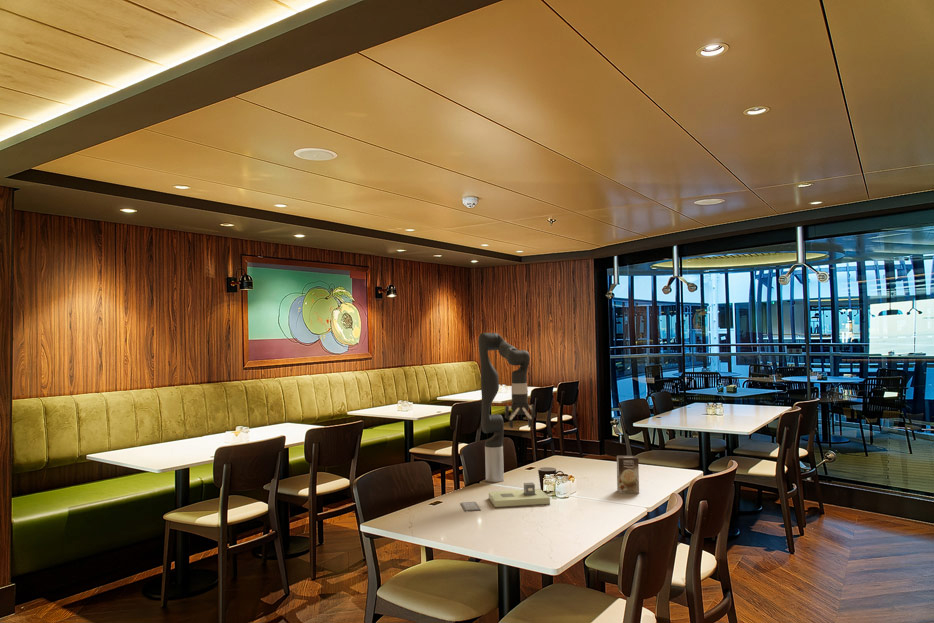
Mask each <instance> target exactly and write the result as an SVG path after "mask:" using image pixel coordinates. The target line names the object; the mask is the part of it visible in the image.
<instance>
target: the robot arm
mask: <svg viewBox="0 0 934 623" xmlns="http://www.w3.org/2000/svg"><path fill="white" fill-rule="evenodd" d="M477 340H478V353H479V362H480V390H481V392H480V393H481V416H480V418H481V421H480V425H481V426H480V427H481V430H482V432H483V433H484V434H493V435H492V436H491V437H490V438H487V439H486V440H485V442H484V455H485V456H484V458H485V459H484V460H485V461H484V462H485V463H484V464H485V466H484V467H485V481H486V482H490V483H500V482H503V481H504V480H505V476H504V472H505V471H504V467H505V466H504V430H505V429H504V425H505V423H504V418H505V419H507V420H508V426H509V428H511V429H513V428H514V424H513V421H514V420H513V419H514V418H515V417H516V415H517V416H519V415H521V416H522V415H526V417H527V418H528V419H527V424H528V425H527V427H528V428H531V427H532V426H533V421H532V420H533V419H534V418H535V419H536V416H537V415H536V405H534V404H531V405H530V404H529V397H528V392H529V391H528V378H527V373H528V369H529V365H530V363H531V362H530V361H531V356H530V355H531V354H530V353H529V352H528V350H526V349H525V350H524V349H523V350H521V349H520V350H519V349H517V348H516V347H515V346H513V345H512V344H510V343H508V342H507V341H506V340H505V339H504V338H503V337H502V336H501V335H500V334H499V333H497V332H482V333H480V334H479V335H478V339H477ZM489 351H492V352H493V351H498V353H499V355H500V356H501V357H502V358H504V359H506V361H507V363H508V364H509V365H510V366H519V368H518V369H516V370H513V371H512V372H511V405H505V406H504V418H503V416H502V414H499V413H497V414H490V411H491V407H492V403H493V401H494V400H495V398H496V396H497V394H498V392H499V389H500V382H499V381H500V380H499V374H498V372H497V370H496V368H494V366H493V364H492V362H491V360H490V357H489ZM510 410H512V412H511V413H510V415H509V412H510ZM528 410H530V411H531V414H530V412H528Z"/></svg>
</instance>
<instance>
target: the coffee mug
mask: <svg viewBox="0 0 934 623" xmlns="http://www.w3.org/2000/svg"><path fill="white" fill-rule="evenodd" d="M537 471H538V472H537V473H538V478H539V485H540V489H541V490H542V491H543V478H544V475H545V474H557V475H558V474H559V473H561V474H562V476H563V475H564V476H565V474H564V472H563V471H562V470H558V471H557V468H556V467H550V466H544V467H543V466H542V467H539V468H537Z"/></svg>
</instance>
